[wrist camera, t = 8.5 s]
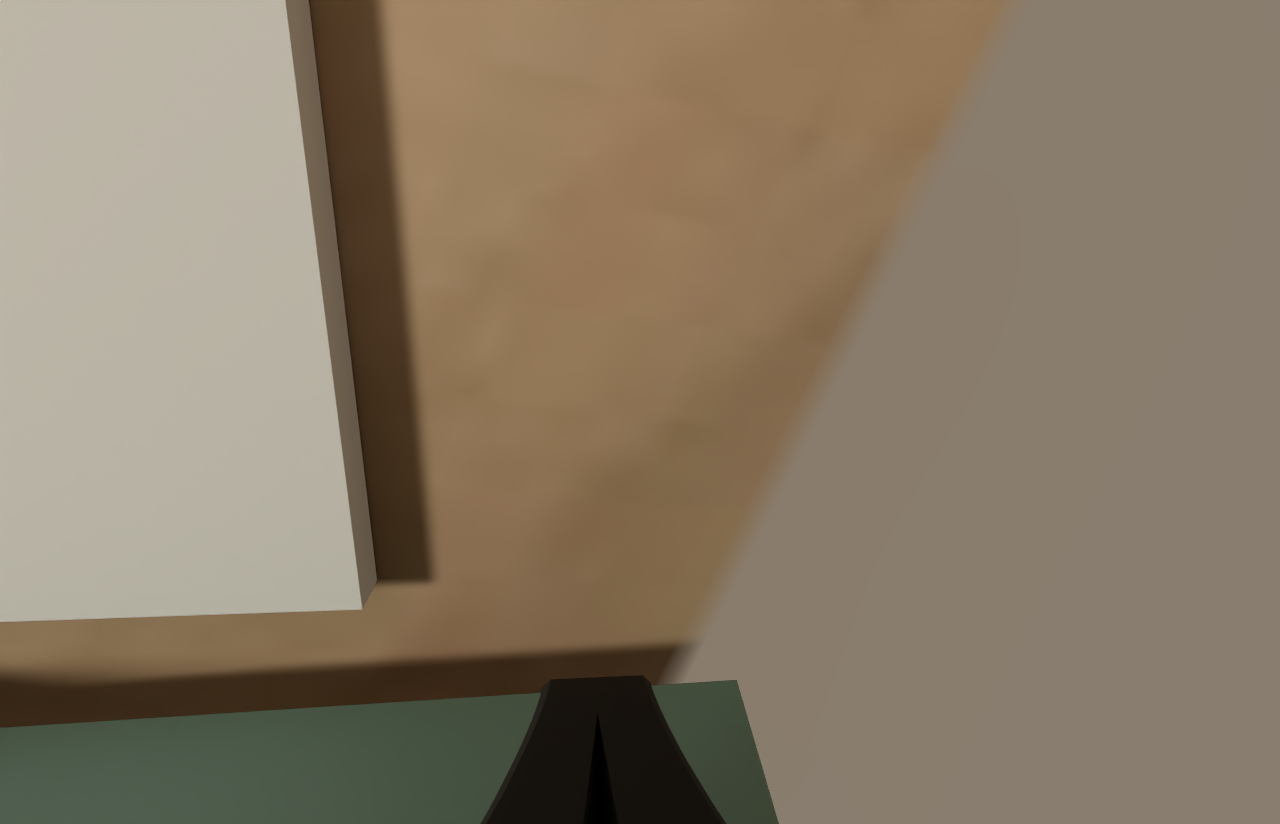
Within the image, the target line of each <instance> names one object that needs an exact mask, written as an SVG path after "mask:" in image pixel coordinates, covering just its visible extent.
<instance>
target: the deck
mask: <svg viewBox="0 0 1280 824" xmlns="http://www.w3.org/2000/svg"><path fill="white" fill-rule="evenodd" d="M376 582H377V575H376V567H375V558H374V550H373V542H372V533H371V525H370V516H369V508H368V499H367V491H366V482H365V474H364V465H363V457H362V448H361V440H360V431H359V423H358V414H357V406H356V397H355V389H354V380H353V372H352V363H351V355H350V347H349V338H348V330H347V321H346V313H345V304H344V296H343V287H342V279H341V270H340V262H339V253H338V245H337V236H336V228H335V219H334V211H333V202H332V194H331V185H330V177H329V168H328V160H327V152H326V143H325V135H324V126H323V118H322V109H321V101H320V92H319V84H318V75H317V67H316V58H315V50H314V41H313V33H312V24H311V16H310V7H309V0H0V622H12V621H41V620H70V619H99V618H128V617H157V616H186V615H214V614H243V613H272V612H301V611H330V610H359V609H363V607H364V605H365V603H366V601H367V599H368V597H369V595H370V594H371V592H372V590H373V588H374V586H375V584H376Z"/></svg>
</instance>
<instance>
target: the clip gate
mask: <svg viewBox="0 0 1280 824" xmlns="http://www.w3.org/2000/svg"><path fill="white" fill-rule="evenodd" d="M652 689H653V692H654V694H655V697H656V699H657V702H658V704H659V707H660V709H661V711H662V713H663V715H664V718H665V720H666V722H667V724H668V726H669V728H670V730H671V732H672V734H673V736H674V737H675V739H676V741H677V743H678V745H679V747H680V749H681V751H682V752H683V754H684V756H685V758H686V760H687V761H688V763H689V765H690V766H691V768H692V770H693V771H694V773H695V775H696V776H697V778H698V780H699V781H700V783H701V785H702V786H703V788H704V790H705V791H706V793H707V794H708V796H709V798H710V799H711V801H712V803H713V804H714V806H715V807H716V809H717V810H718V812H719V813H720V815H721V816H722V818H723V819H724V821H725V822H726V824H779V823H778V820H777V816H776V813H775V809H774V806H773V803H772V799H771V796H770V792H769V789H768V785H767V782H766V779H765V775H764V772H763V769H762V765H761V762H760V758H759V755H758V752H757V748H756V745H755V741H754V738H753V734H752V731H751V728H750V724H749V721H748V718H747V714H746V711H745V708H744V704H743V700H742V697H741V693H740V690H739V687H738V683H737V680H729V681H713V682H698V683H683V684H667V685H652ZM540 694H541V693H529V694H513V695H498V696H483V697H467V698H452V699H437V700H421V701H406V702H390V703H375V704H360V705H344V706H329V707H313V708H298V709H283V710H267V711H252V712H237V713H221V714H206V715H190V716H175V717H160V718H144V719H129V720H114V721H98V722H83V723H67V724H52V725H37V726H21V727H6V728H0V824H480V823H481V822H482V820H483V818H484V817H485V815H486V813H487V811H488V810H489V808H490V806H491V804H492V802H493V800H494V799H495V797H496V795H497V793H498V791H499V789H500V787H501V785H502V783H503V781H504V779H505V777H506V775H507V773H508V771H509V769H510V767H511V765H512V763H513V761H514V759H515V757H516V755H517V753H518V751H519V748H520V746H521V744H522V742H523V739H524V737H525V735H526V733H527V730H528V728H529V726H530V723H531V721H532V718H533V715H534V713H535V710H536V707H537V704H538V701H539V698H540Z"/></svg>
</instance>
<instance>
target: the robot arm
mask: <svg viewBox="0 0 1280 824" xmlns="http://www.w3.org/2000/svg"><path fill="white" fill-rule="evenodd" d="M480 824H726V822H725V821H724V819H723V818H722V816H721V815H720V813H719V812H718V810H717V809H716V807H715V806H714V804H713V803H712V801H711V799H710V798H709V796H708V794H707V793H706V791H705V790H704V788H703V786H702V785H701V783H700V781H699V780H698V778H697V776H696V775H695V773H694V771H693V770H692V768H691V766H690V765H689V763H688V761H687V760H686V758H685V756H684V754H683V752H682V751H681V749H680V747H679V745H678V743H677V741H676V739H675V737H674V736H673V734H672V732H671V730H670V728H669V726H668V724H667V722H666V720H665V718H664V715H663V713H662V711H661V709H660V707H659V704H658V702H657V699H656V697H655V694H654V692H653V689H652V686H651V683H650V682H649V681H648V680H647V679H646V678H645V677H644V676H643V675H641V676H619V677H597V678H575V679H553V680H550V681H549V682H548V683H547V684H545V685H544V686H543V687H542V691H541V694H540V698H539V701H538V704H537V707H536V710H535V713H534V715H533V718H532V721H531V723H530V726H529V728H528V730H527V733H526V735H525V737H524V739H523V742H522V744H521V746H520V748H519V751H518V753H517V755H516V757H515V759H514V761H513V763H512V765H511V767H510V769H509V771H508V773H507V775H506V777H505V779H504V781H503V783H502V785H501V787H500V789H499V791H498V793H497V795H496V797H495V799H494V800H493V802H492V804H491V806H490V808H489V810H488V811H487V813H486V815H485V817H484V818H483V820H482V822H481V823H480Z"/></svg>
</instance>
